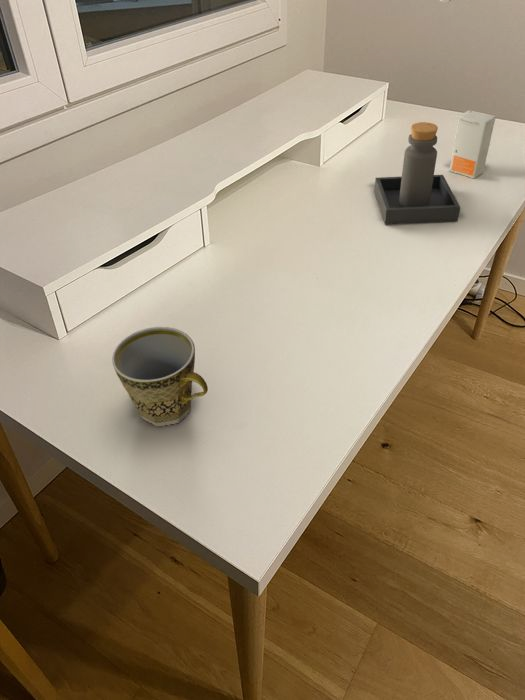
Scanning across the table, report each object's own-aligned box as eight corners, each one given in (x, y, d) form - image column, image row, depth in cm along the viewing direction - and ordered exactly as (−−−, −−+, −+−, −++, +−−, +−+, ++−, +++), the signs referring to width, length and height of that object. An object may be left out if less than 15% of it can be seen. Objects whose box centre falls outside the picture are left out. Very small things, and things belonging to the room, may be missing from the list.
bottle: (398, 195, 117) (407, 120, 107) (428, 196, 116) (439, 120, 106) (399, 210, 113) (408, 133, 103) (430, 210, 112) (442, 133, 102)
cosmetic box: (448, 171, 125) (458, 115, 118) (458, 165, 128) (468, 109, 120) (474, 179, 122) (486, 122, 114) (484, 172, 125) (496, 115, 117)
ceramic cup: (112, 417, 77) (94, 361, 70) (163, 372, 83) (151, 317, 76) (188, 460, 71) (176, 403, 64) (236, 408, 77) (230, 352, 70)
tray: (440, 188, 120) (443, 174, 118) (457, 221, 110) (460, 206, 108) (374, 191, 120) (375, 177, 118) (384, 225, 110) (386, 210, 108)
